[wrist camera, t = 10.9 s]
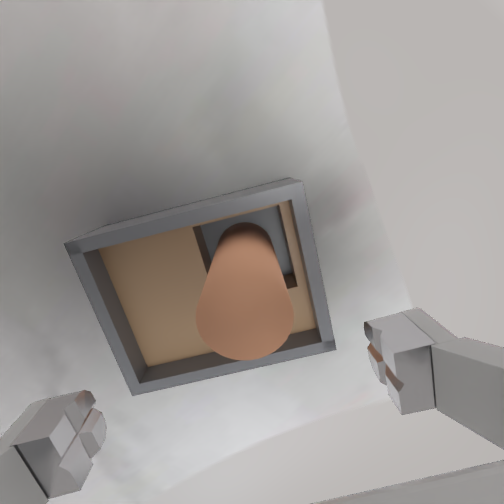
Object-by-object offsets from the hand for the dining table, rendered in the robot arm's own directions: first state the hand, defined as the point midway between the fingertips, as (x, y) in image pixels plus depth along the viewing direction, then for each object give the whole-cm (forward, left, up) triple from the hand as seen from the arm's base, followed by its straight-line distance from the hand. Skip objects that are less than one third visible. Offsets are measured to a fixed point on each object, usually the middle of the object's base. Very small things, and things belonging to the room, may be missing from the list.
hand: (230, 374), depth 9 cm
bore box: (-2, -2, -14) cm, 15 cm away
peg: (0, 0, -14) cm, 14 cm away
